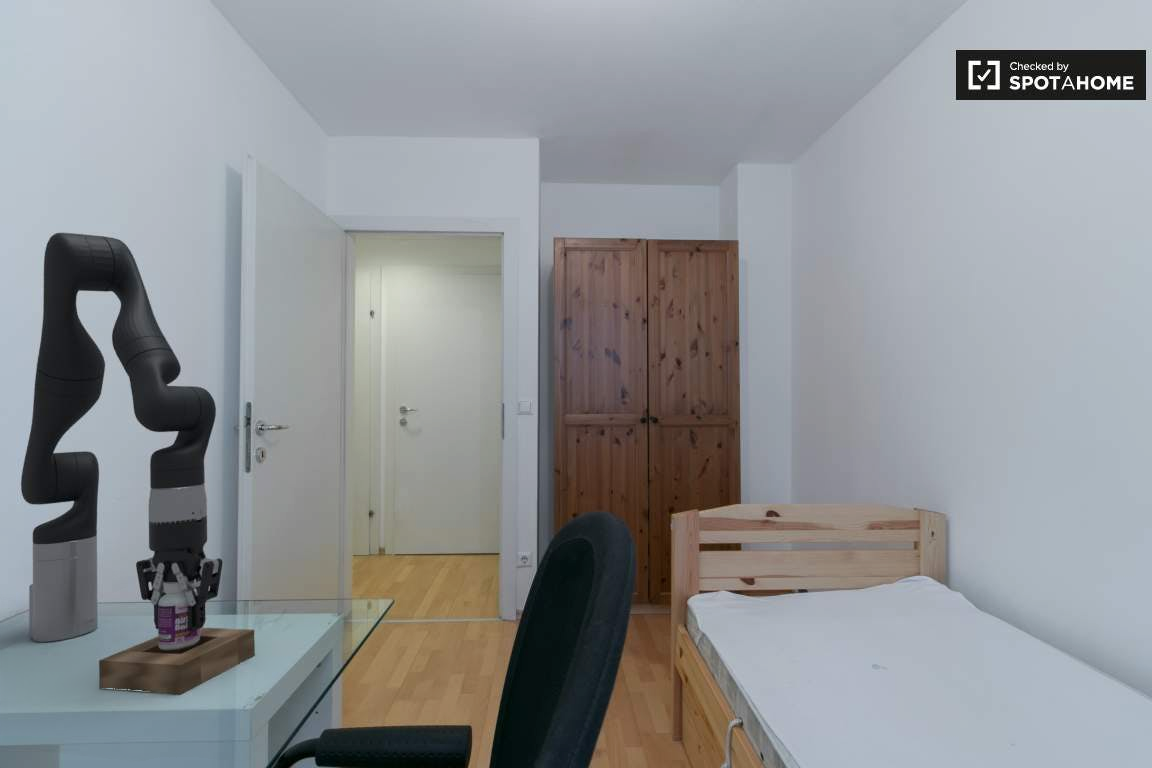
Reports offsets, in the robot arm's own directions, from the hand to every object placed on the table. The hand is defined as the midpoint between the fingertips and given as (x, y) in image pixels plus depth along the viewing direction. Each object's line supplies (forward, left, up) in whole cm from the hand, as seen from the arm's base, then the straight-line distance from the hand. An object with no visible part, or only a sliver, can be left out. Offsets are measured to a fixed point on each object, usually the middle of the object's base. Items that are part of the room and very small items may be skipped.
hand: (180, 627), depth 94 cm
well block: (0, 0, -6) cm, 6 cm away
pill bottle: (0, 0, -3) cm, 3 cm away
